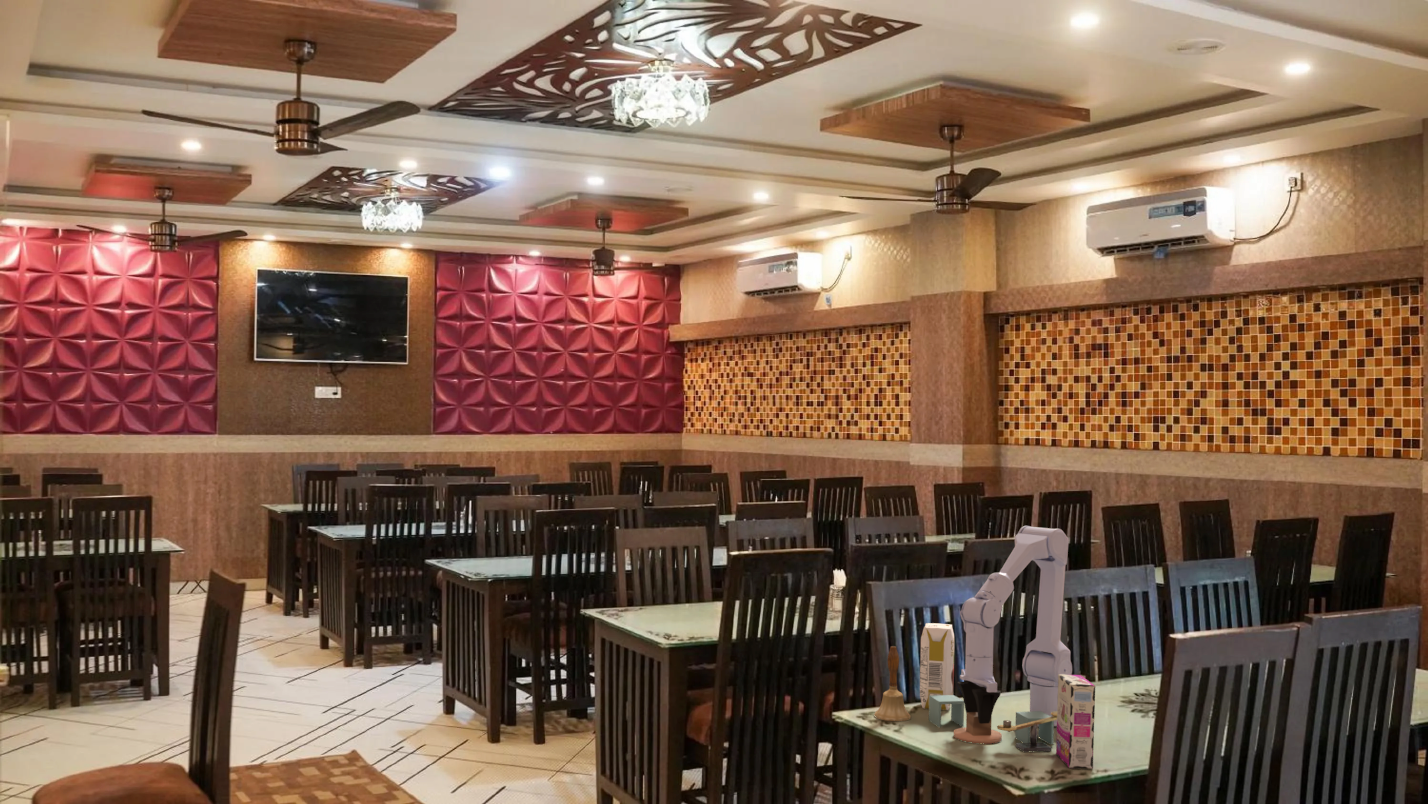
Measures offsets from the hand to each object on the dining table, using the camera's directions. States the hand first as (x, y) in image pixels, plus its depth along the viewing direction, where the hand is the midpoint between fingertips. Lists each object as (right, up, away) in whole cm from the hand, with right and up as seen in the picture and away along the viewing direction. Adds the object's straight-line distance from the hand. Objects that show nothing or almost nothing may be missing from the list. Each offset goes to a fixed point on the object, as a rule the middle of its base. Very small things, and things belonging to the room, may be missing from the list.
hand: (977, 719), depth 266 cm
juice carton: (-4, -5, +29) cm, 29 cm away
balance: (+10, -4, -8) cm, 13 cm away
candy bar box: (+16, -4, -17) cm, 24 cm away
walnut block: (0, -3, 0) cm, 3 cm away
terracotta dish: (0, -4, 0) cm, 4 cm away
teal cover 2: (+11, -4, -2) cm, 12 cm away
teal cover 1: (-5, -4, +12) cm, 14 cm away
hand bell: (-16, -4, +17) cm, 24 cm away
